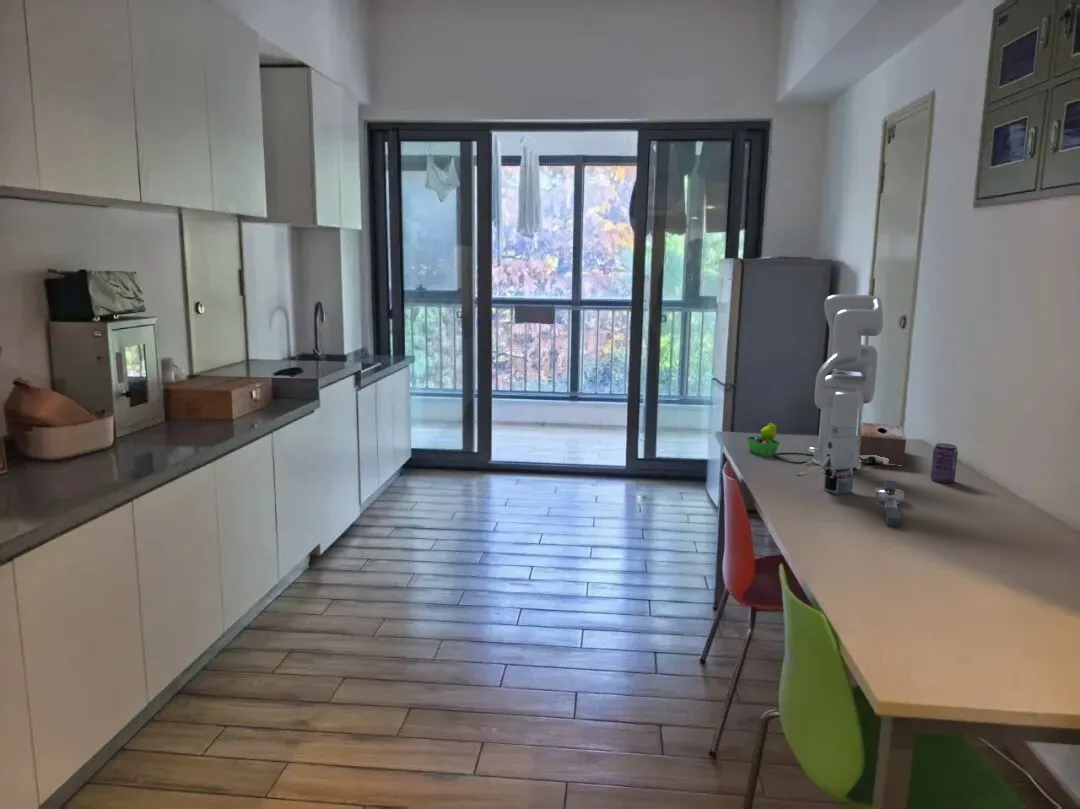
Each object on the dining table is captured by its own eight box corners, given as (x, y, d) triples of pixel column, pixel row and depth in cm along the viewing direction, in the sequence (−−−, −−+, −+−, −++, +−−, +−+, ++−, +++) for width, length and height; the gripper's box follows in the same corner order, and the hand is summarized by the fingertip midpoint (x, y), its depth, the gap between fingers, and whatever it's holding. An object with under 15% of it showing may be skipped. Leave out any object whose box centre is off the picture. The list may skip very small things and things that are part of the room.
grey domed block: (837, 494, 235) (839, 472, 234) (823, 489, 240) (825, 467, 239) (851, 492, 237) (854, 470, 236) (837, 487, 243) (839, 466, 241)
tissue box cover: (903, 467, 270) (906, 439, 268) (858, 462, 275) (861, 435, 274) (899, 451, 294) (901, 425, 292) (858, 447, 299) (860, 422, 297)
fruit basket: (744, 450, 290) (746, 420, 288) (765, 448, 293) (767, 419, 291) (761, 457, 279) (764, 427, 277) (782, 456, 282) (785, 426, 280)
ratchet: (909, 529, 205) (912, 505, 204) (877, 525, 208) (879, 502, 207) (902, 498, 233) (904, 477, 232) (873, 495, 236) (875, 474, 235)
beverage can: (948, 478, 256) (953, 443, 254) (958, 484, 249) (962, 448, 247) (926, 477, 257) (930, 442, 255) (935, 483, 250) (939, 447, 248)
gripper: (830, 436, 229) (825, 494, 232) (873, 432, 236) (867, 489, 239) (812, 431, 235) (807, 488, 239) (854, 427, 242) (849, 482, 246)
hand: (837, 487), depth 239 cm, fingers closed on grey domed block, 5 cm apart
